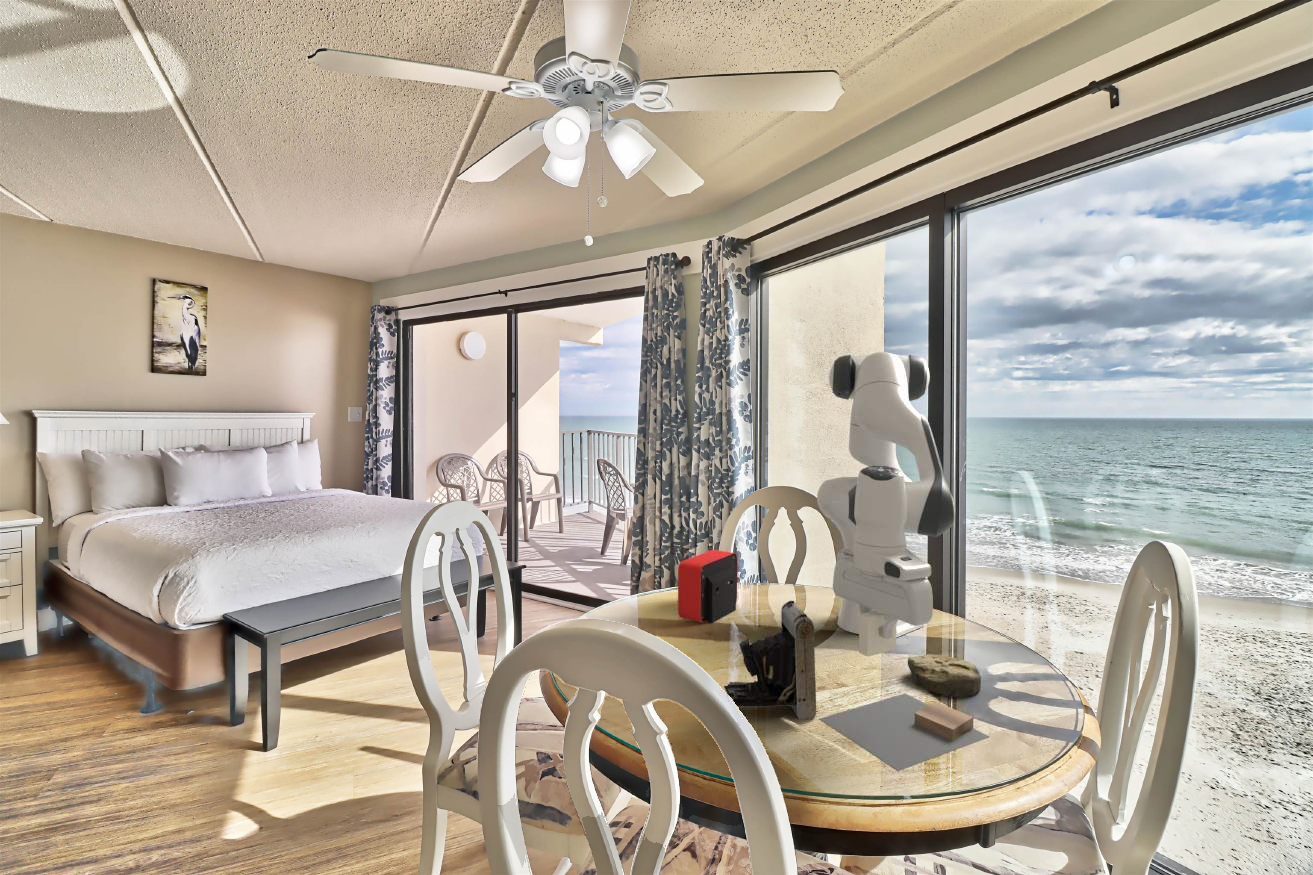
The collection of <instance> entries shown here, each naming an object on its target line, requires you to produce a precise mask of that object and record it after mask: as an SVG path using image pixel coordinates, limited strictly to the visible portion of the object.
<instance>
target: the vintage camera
mask: <svg viewBox="0 0 1313 875" xmlns="http://www.w3.org/2000/svg"><path fill="white" fill-rule="evenodd" d="M780 616H781V620H780V622H781V633H780V632H778V633H776V634H775V635H771V636H766V637H764V638H762V639H756V641H755V642H752V643H750V642H751V641H749V639H745V640H743V641H740V642H739V648H740V652H741V654H742V657H743V658H742V660H743V663H744V666H745V668H746V670H747V672H748V673H749V674H750V677H752V678H753V677H754V678H755V676H756V679H757V680H754V681H751V682H749V681H748V682H744V681H729V683H727V685H723V688H724V690H725V691H724V692H727V693H726V695H727V694H728V695H729V696H730V697H731V698H732V699H733V701H734V702H735V704H736V705H737V706H738V707H739V708H742V707H743V708H746V707H748V708H750V707H752V708H753V707H755V708H757V707H758V708H759V707H760V708H762V707H765V708H766V707H781V706H782V707H785V706H787V707H788V706H790V707H791V708H792V710H793V712H794V713H795V714H796V716H797V717H798V719H799V720H800V721H807V720H809V721H810V720H814V719H815V717H816V715H817V693H816V691H817V690H816V688H817V687H816V686H817V685H816V682H817V681H816V657H815V655H816V653H815V627H814V626H815V625H814V623H813V620H811V618H810V617H809V616H808V615H807V614H806V613H805V612H804V611H803V610H802V609H801V608H800V607H799V605H798V604H797V603H795V601H794V600H788V601H787V602H785V603H784V604H783V605H782V606H781V610H780ZM728 695H727V696H728ZM738 707H737V708H738Z"/></svg>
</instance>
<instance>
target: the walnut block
mask: <svg viewBox="0 0 1313 875" xmlns="http://www.w3.org/2000/svg"><path fill="white" fill-rule="evenodd" d="M974 718H975V717H974V716H972V715H969V714H967V713H966V712H965V713H964V712H962V711H959V710H957V709H954V708H953V707H950V706H947V705H944V704H941V703H940V702H937V701H935V702H934V701H933V703H931V704H929V706H927V707H925V708H923V709H921V710H920V711H918V712H916V713H915V722H914V724H915V725H918V726H920V727H922V728H925V729H927V730H929V731H931V732H934V733H936V734H938V735H940V736H943V737H945V738H947V739H949V740H952V741H954V740H955V739H957V738H958V737H960V736H962V735H963V734H965V733H966V732H968V731H969V730H971V729H973V728H974V720H975V719H974Z"/></svg>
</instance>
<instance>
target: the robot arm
mask: <svg viewBox="0 0 1313 875" xmlns="http://www.w3.org/2000/svg"><path fill="white" fill-rule="evenodd" d="M930 378H931V376H930V370H929V367H928V363H927V361H926V360H925V359H924V357H921V356H918V355H912V354H908V355H901V354H896V353H895V354H894V353H891V352H888V351H878V352H873V353H871V354H860V355H859V354H857V355H851V354H847V355H842V356H839V357H838V358H836V359H835V360H834V363H833V364H832V365H831V368H830V371H829V374H828V381H829V385H830V388H831V390H832V394H834V395H835V397H836V398H839V399H843V400H849V399H852V404H851V405H852V407H851V412H850V420H849V422H850V423H849V424H850V425H849V436H848V437H849V439H848V440H849V441H848V451H849V454H850V455H851V457H852V458H853V459H854V460H855V461H857V462H859V463H860V464H863V465H864V466H866V467H863V468H862V469H860V470H859V473H858V476H841V477H835V478H831V479H826V480H824V481H823V482H822V483H821V485H820V486H819V488H818V491H817V493H816V500H817V506H818V508H819V509H820V511H821V513H822V514H823V515H824V516H825V517H826V518H828V519H829V520H830V521H831V522H832V523H833V524H835V526H836V528H837V529H838V531H839V533H840V535H841V539H842V543H843V548H842V549H840V550H839V551H838V553H837V554H836V562H835V565H834V569H833V570H834V571H833V576H832V577H833V579H832V590H833V593H834V595H835V596H836V597H839V598H841V602H840V610H839V612H838V616H837V617H838V618H837V623H836V624H837V625H838V627H839V628H841V629H842V630H844V631H846V632H850V633H851V634H856V635H857V634H858V635H859V619H860V614H862V613H867V612H872V611H877V612H880V613H883V614H884V620H886V622H885V624H884V626H881V627H879V636H881V637H883V638H885V639H889V638H891V637H892V632H893V627H894V626H895V624H896V639H897V638H899V637H901V636H904V635H906V634H909V633H911V632H913V631H915V630H917V629H920V628H923V627H924V625H926V624H928V623H930V621H931V620H932V618H933V612H934V611H933V610H934V606H933V605H934V604H933V602H934V601H933V599H934V598H933V589H932V588H933V587H932V585H931V582H930V581H929V580H928V579H927V578H928V577H931V575H932V566H931V565H930V564H929V563H928V562H926V561H925V560H923V559H922V558H920V557H919V556H917V555H916V554H915V553H913V552H912V551H911V550H909V549H907V538H906V535H905V534H907V533H908V534H917V535H919V536H920V535H921V536H927V537H935V538H936V537H939V536H941V535H942V534H944V533H945V532H946V531H948V530H949V529H950V528H951V527H952V526H953V525H954V521H955V516H956V504H955V500H954V498H953V496H952V493H951V490H950V487H949V484H948V482H947V479H946V475H945V473H944V468H943V466H942V463H941V459H940V456H939V451H938V448H937V445H936V442H935V438H934V434H933V431H932V429H931V428H932V427H931V426H930V425H931V424H930V423H929V421H928V419H927V417H926V416H925V415H923V414H921V413H920V412H918V411H917V410H916V409H915V408H914V407H913V406H912V404H911V401H916V400H918V399H920V398H921V397H923V396H924V395H925V394H926V390H927V389H928V387H929V384H930V381H931V380H930ZM897 445H898V446H900V447H902V448H905V449H906V450H908V452H910V453H911V454H912V455H913V457H914V459H915V460H914V461H915V464H916V468H917V471H918V474H919V479H920V480H919V481H913V480H911V479H910V478H909V477H908V476H907V475H906V474H905V473H904V471H902V469H901V467H900V465H899V461H898V458H897V451H896V450H897Z"/></svg>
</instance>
